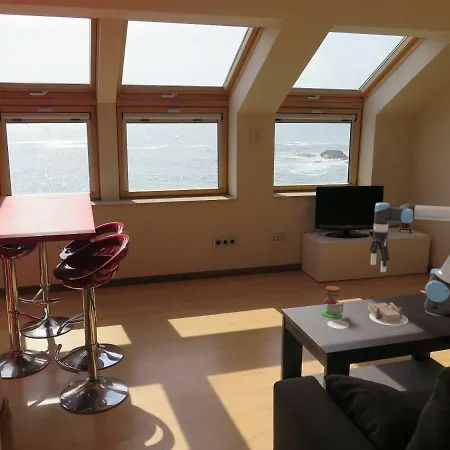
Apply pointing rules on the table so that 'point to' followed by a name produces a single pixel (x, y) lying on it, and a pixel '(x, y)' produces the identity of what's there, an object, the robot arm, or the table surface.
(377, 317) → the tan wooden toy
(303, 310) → the table surface
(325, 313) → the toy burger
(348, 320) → the table surface
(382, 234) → the robot arm
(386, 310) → the brick
